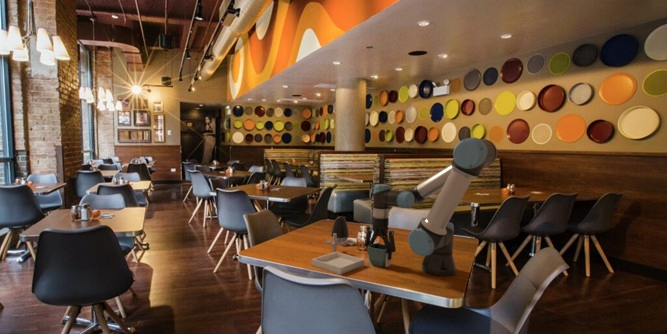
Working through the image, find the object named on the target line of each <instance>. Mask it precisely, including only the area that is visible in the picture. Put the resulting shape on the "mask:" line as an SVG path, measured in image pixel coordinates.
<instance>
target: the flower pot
mask: <svg viewBox="0 0 667 334" xmlns="http://www.w3.org/2000/svg"><path fill="white" fill-rule="evenodd" d="M386 253H387V249H386V247H385V244H382V243H377V242H374V244H372V245H370V246H368V248H367V255H368V260H369V259H370V262H369V263H371V266H376V267H381V268H383V267H385V264H386Z"/></svg>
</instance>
